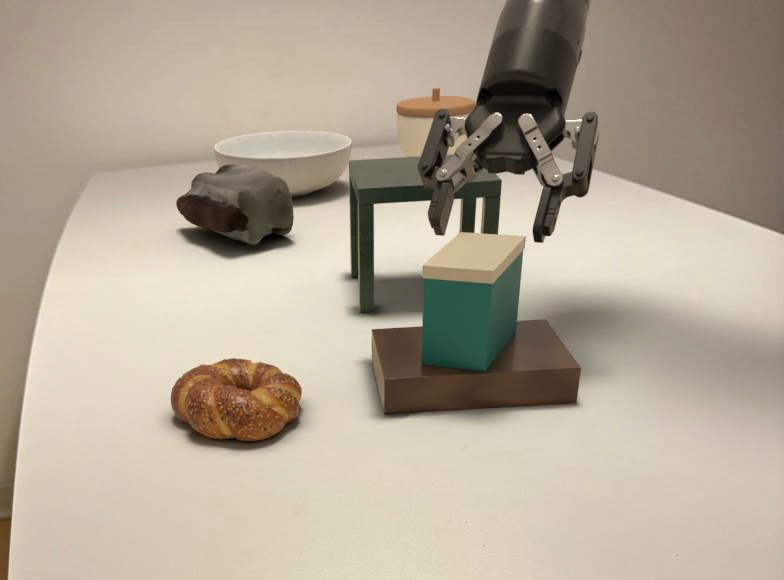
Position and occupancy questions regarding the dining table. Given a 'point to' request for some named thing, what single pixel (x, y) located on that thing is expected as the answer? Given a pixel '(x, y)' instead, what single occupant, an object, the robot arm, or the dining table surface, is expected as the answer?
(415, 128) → the lidded bowl
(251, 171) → the rock
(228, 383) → the pretzel
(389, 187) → the upper shelf
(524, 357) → the low shelf
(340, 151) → the serving bowl
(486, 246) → the box
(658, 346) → the dining table surface
